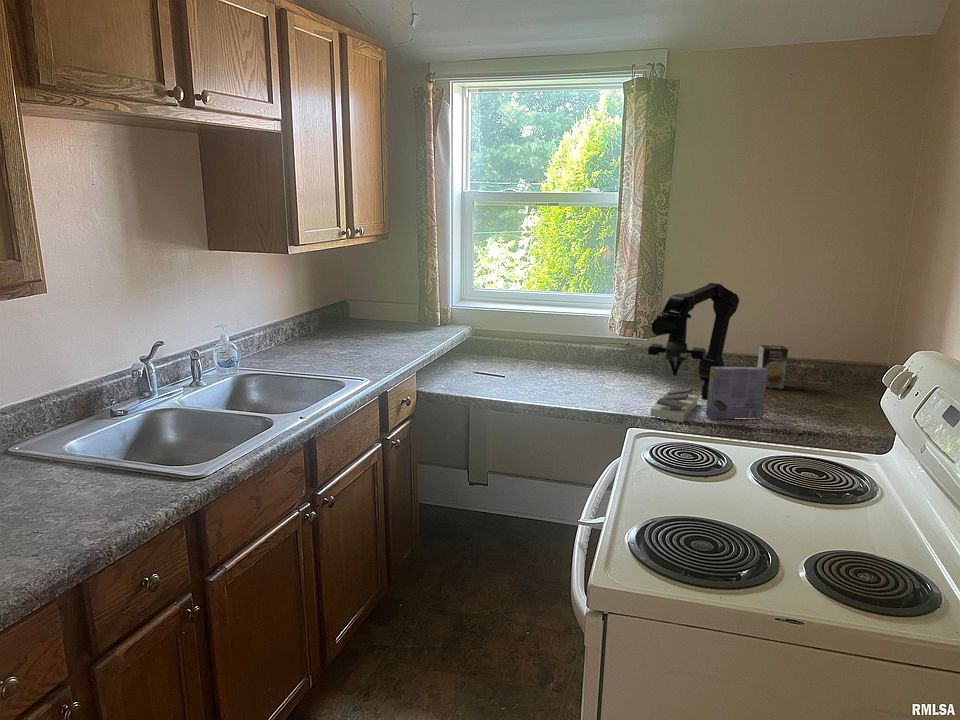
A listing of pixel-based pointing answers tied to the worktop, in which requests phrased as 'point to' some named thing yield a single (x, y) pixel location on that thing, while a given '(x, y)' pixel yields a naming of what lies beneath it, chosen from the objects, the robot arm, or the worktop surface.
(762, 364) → the coffee box
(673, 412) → the switch panel
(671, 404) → the plate
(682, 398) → the block
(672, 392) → the block
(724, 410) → the cake pan box
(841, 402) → the worktop surface
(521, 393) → the worktop surface
